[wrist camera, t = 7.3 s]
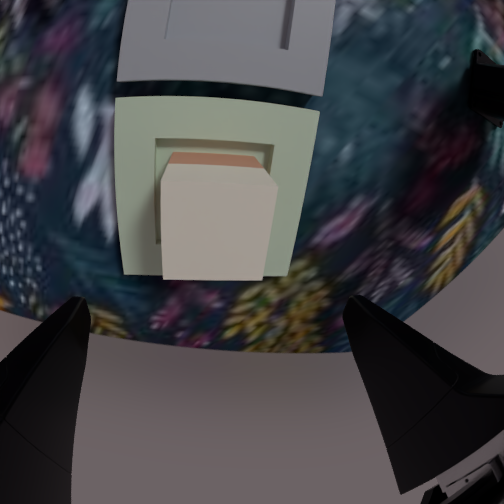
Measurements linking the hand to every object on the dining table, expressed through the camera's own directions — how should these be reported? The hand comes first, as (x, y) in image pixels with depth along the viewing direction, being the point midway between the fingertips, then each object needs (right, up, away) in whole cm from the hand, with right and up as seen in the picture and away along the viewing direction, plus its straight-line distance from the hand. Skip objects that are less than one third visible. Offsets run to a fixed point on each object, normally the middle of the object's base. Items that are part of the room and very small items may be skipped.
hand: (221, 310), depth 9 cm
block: (-2, +6, +9) cm, 11 cm away
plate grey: (0, +17, +3) cm, 17 cm away
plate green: (-2, +6, +10) cm, 12 cm away
